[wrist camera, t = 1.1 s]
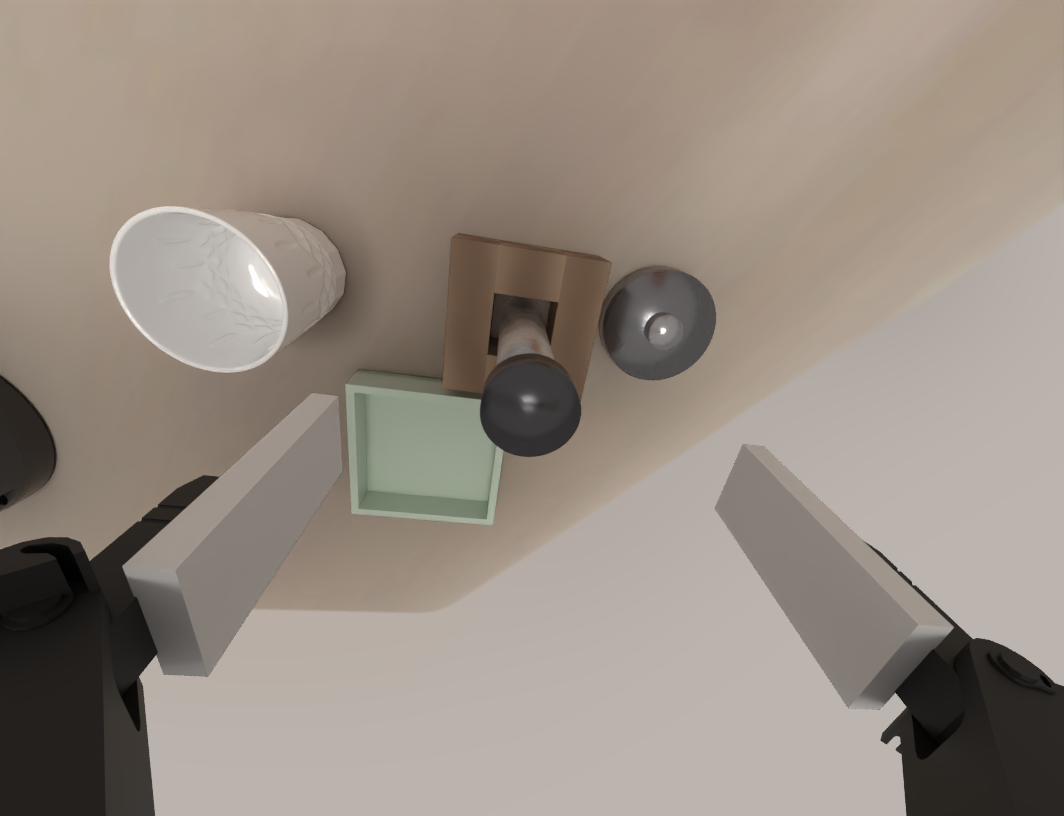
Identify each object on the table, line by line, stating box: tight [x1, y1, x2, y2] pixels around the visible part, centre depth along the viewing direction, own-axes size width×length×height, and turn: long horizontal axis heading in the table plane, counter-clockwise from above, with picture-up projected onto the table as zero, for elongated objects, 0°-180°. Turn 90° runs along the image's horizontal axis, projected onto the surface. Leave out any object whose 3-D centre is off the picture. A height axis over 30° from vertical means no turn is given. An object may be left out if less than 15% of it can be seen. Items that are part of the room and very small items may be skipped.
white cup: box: [109, 206, 346, 373], centre depth 24 cm, size 8×8×10 cm
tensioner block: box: [442, 234, 612, 401], centre depth 29 cm, size 10×10×4 cm
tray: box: [345, 369, 504, 525], centre depth 34 cm, size 12×12×3 cm
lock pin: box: [480, 296, 581, 457], centre depth 24 cm, size 4×4×16 cm
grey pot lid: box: [599, 266, 716, 380], centre depth 30 cm, size 8×8×4 cm
